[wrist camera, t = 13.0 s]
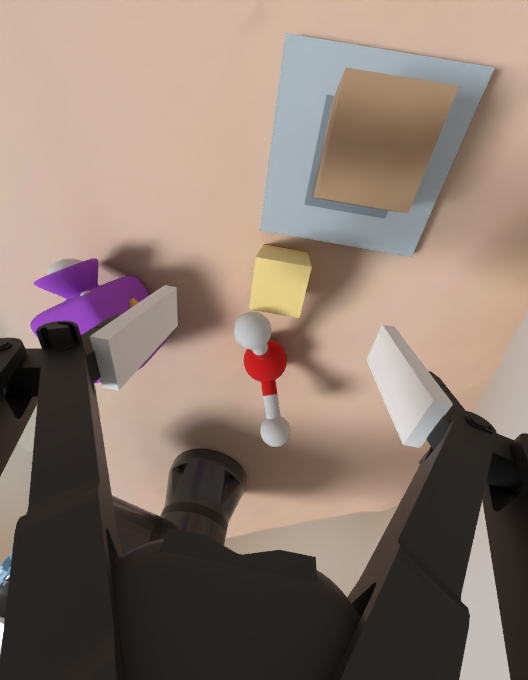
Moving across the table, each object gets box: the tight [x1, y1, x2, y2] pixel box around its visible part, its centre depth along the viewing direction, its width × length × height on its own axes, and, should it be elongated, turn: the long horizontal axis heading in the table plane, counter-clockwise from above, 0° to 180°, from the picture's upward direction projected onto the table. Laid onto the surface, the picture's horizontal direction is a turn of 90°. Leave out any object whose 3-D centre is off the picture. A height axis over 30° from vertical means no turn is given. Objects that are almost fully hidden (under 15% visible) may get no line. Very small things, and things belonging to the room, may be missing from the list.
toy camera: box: [30, 259, 170, 383], centre depth 29 cm, size 11×14×10 cm
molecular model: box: [234, 312, 290, 447], centre depth 30 cm, size 18×6×10 cm, turn 10°
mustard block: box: [249, 244, 312, 318], centre depth 26 cm, size 5×5×7 cm
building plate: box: [260, 33, 495, 257], centre depth 23 cm, size 14×16×1 cm
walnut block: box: [312, 68, 459, 213], centre depth 19 cm, size 7×7×6 cm
